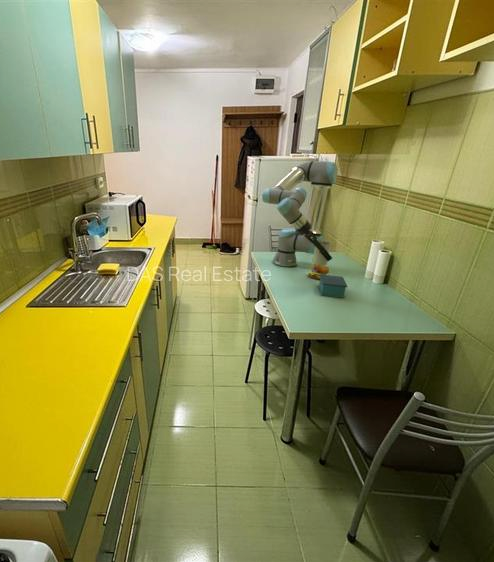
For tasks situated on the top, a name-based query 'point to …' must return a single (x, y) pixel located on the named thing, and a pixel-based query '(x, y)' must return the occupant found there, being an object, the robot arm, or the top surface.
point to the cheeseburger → (318, 271)
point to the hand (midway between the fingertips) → (327, 256)
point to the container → (332, 285)
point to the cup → (318, 257)
